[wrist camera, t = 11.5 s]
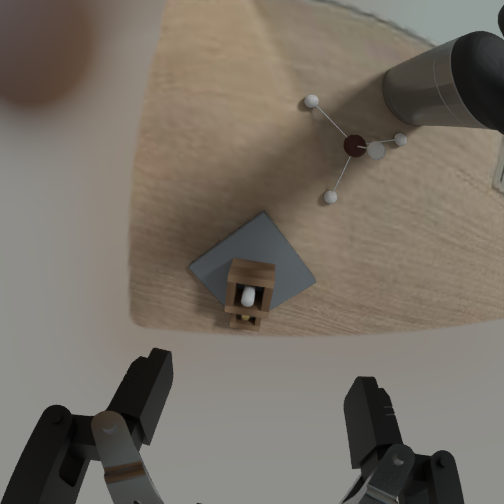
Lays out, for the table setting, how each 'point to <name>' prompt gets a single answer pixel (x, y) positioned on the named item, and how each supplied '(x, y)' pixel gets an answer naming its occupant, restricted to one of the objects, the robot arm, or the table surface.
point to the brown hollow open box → (255, 276)
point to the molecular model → (355, 146)
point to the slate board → (255, 249)
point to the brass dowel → (245, 317)
